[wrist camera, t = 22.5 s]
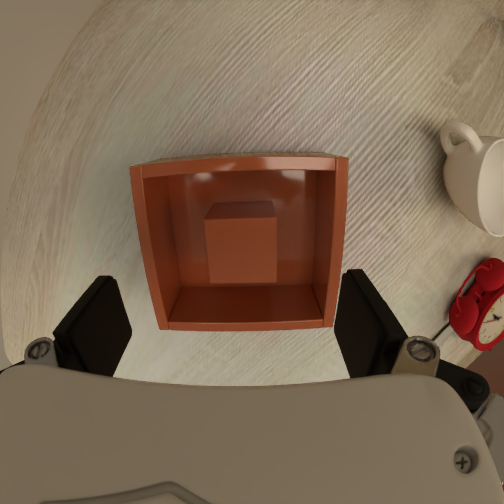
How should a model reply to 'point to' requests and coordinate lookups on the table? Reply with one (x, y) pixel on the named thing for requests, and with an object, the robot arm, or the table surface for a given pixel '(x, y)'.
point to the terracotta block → (241, 242)
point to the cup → (475, 176)
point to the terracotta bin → (288, 238)
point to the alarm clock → (481, 307)
